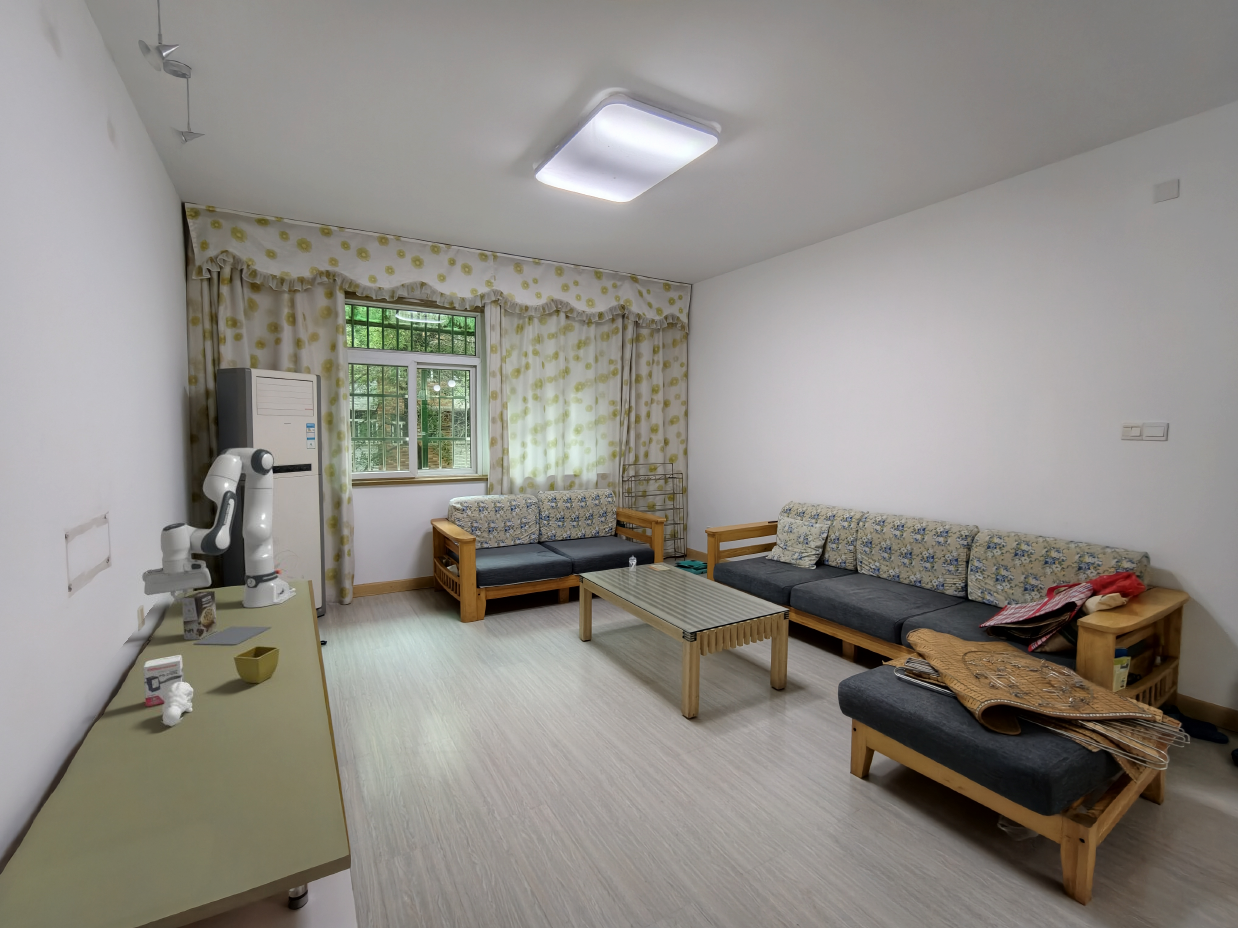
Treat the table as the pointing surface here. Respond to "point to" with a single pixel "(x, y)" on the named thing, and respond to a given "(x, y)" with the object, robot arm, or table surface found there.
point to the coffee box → (199, 615)
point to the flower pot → (257, 663)
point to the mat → (232, 636)
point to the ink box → (161, 677)
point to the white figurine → (177, 702)
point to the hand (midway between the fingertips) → (179, 601)
